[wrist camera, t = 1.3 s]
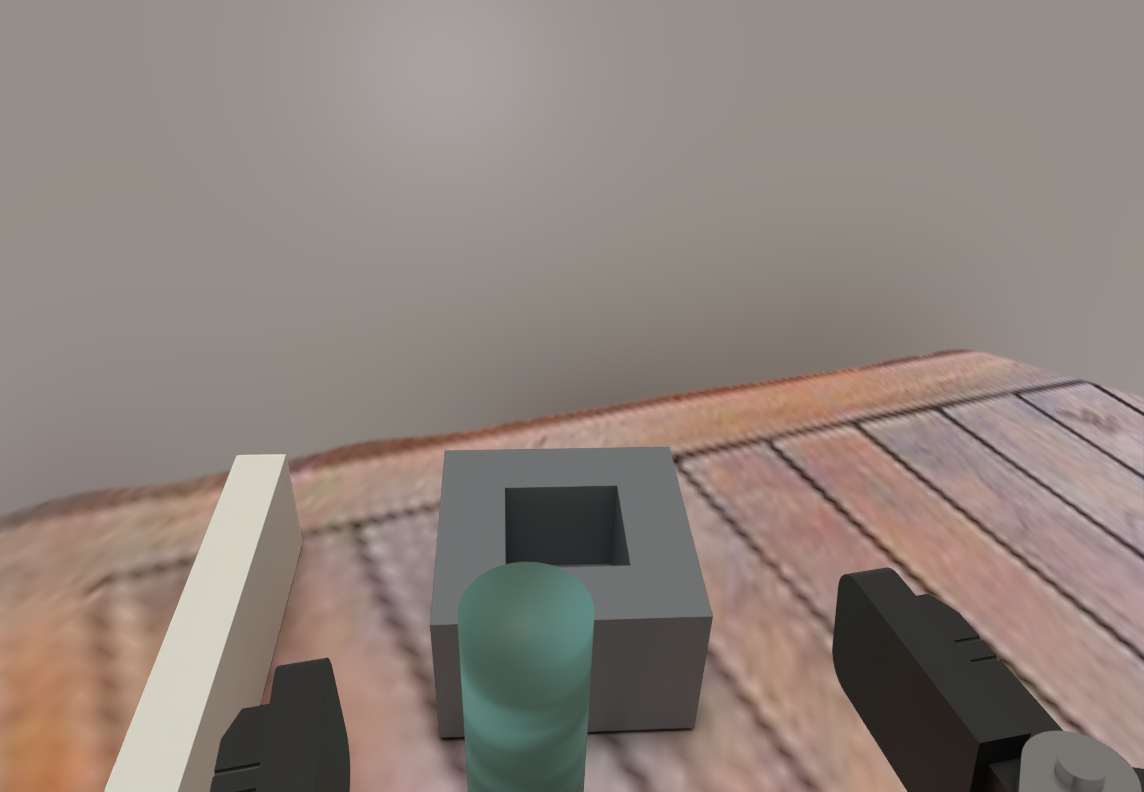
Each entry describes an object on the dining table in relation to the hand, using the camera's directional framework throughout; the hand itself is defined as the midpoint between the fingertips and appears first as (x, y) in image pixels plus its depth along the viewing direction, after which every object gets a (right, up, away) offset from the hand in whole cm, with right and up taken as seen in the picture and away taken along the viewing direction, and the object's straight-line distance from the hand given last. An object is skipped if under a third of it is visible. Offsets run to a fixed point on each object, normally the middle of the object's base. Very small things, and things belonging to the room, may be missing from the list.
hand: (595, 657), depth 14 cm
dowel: (-2, -15, +19) cm, 24 cm away
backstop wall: (-15, -10, +25) cm, 31 cm away
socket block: (-1, -7, +29) cm, 30 cm away
